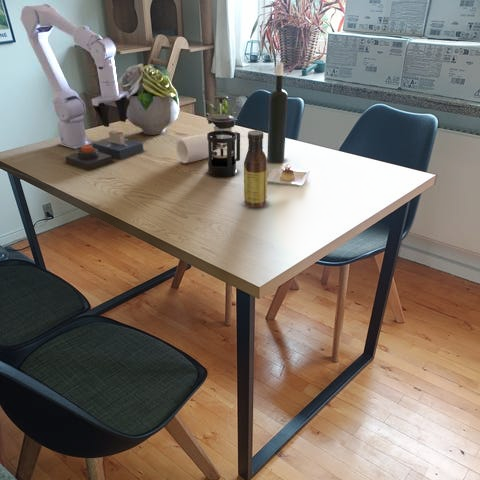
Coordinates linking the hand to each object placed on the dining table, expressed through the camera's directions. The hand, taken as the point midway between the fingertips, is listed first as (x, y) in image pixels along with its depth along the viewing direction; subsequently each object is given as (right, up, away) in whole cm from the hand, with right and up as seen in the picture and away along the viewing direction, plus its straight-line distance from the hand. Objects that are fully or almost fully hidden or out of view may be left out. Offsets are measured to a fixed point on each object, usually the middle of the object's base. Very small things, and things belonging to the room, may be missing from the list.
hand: (114, 123), depth 170 cm
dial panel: (0, -8, +6) cm, 10 cm away
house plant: (+36, -1, +15) cm, 39 cm away
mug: (+27, -12, 0) cm, 29 cm away
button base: (-8, -15, -4) cm, 17 cm away
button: (-8, -12, -6) cm, 15 cm away
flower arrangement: (+9, +7, +25) cm, 28 cm away
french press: (+38, -20, -11) cm, 44 cm away
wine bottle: (+56, -13, -1) cm, 57 cm away
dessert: (+58, -24, -16) cm, 65 cm away
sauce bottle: (+48, -36, -32) cm, 67 cm away
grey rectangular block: (0, -5, +4) cm, 6 cm away
